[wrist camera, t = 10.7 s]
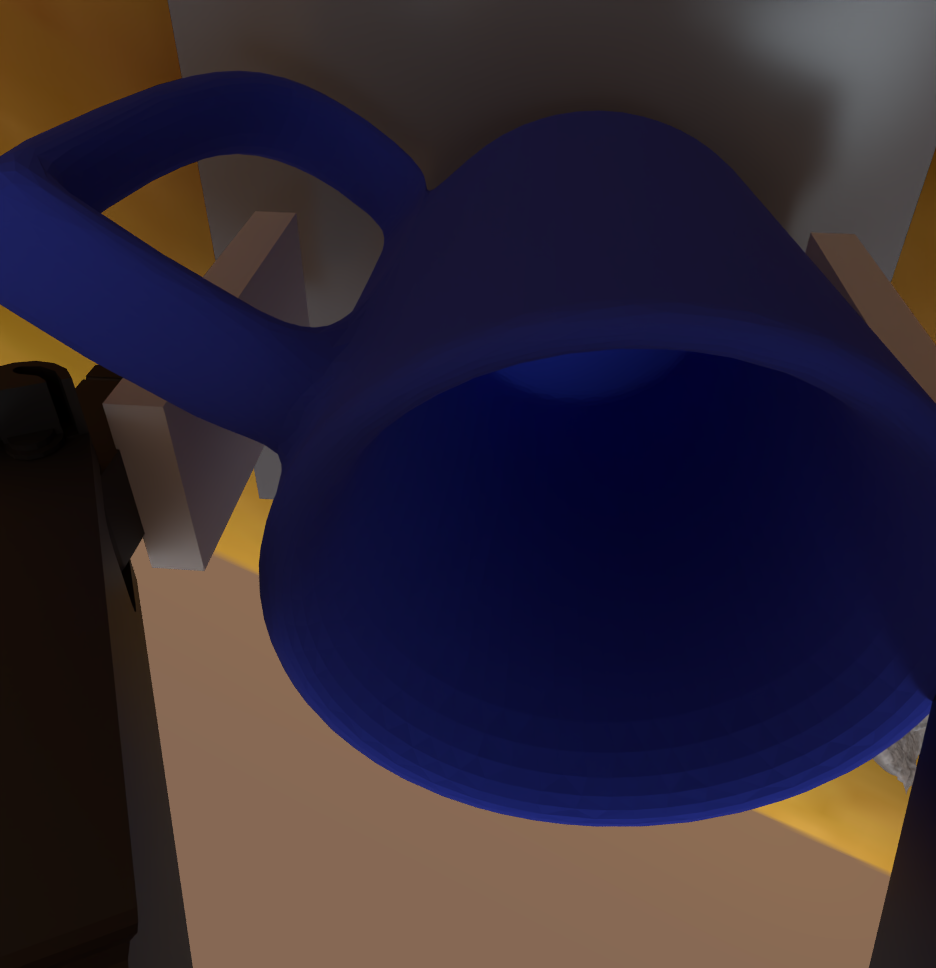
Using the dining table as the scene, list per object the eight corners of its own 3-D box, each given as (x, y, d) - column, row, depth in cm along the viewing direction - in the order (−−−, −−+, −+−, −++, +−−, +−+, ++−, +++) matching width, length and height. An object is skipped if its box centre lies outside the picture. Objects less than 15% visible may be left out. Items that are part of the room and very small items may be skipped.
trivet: (187, -184, 16) (133, -185, 14) (978, -177, 15) (1044, -178, 13) (284, 443, 24) (259, 498, 22) (786, 471, 23) (807, 531, 21)
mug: (335, -225, 13) (14, -277, 5) (880, 223, 16) (1186, 596, 9) (147, 211, 17) (-176, 540, 10) (608, 487, 21) (647, 890, 13)
